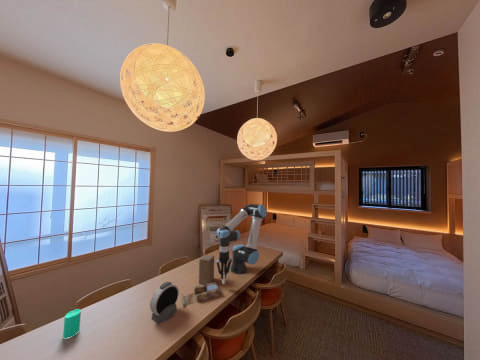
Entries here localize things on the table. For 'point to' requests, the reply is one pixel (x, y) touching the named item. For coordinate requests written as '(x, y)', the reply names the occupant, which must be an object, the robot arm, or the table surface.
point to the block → (212, 287)
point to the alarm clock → (164, 302)
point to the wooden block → (206, 269)
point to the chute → (200, 294)
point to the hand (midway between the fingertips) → (223, 282)
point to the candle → (72, 323)
